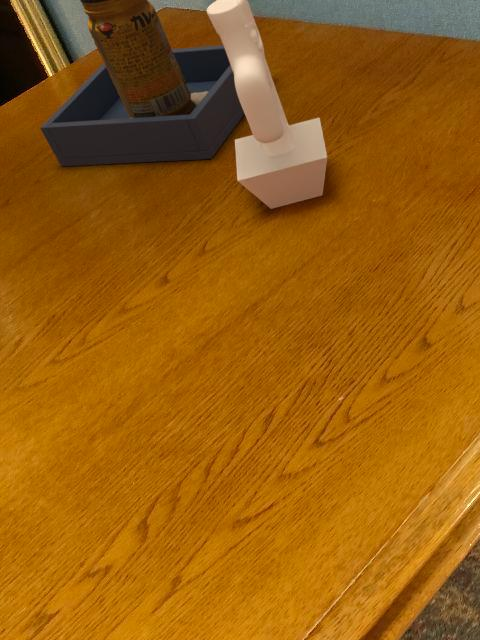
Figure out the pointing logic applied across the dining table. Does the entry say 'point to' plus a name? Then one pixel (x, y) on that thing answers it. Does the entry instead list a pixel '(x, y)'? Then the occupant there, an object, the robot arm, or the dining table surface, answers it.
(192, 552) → the dining table surface
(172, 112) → the condiment
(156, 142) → the bin
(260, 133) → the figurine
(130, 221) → the dining table surface
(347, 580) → the dining table surface
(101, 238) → the dining table surface
